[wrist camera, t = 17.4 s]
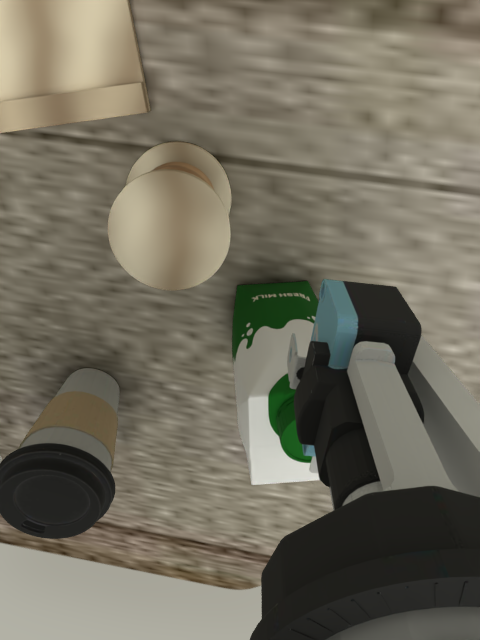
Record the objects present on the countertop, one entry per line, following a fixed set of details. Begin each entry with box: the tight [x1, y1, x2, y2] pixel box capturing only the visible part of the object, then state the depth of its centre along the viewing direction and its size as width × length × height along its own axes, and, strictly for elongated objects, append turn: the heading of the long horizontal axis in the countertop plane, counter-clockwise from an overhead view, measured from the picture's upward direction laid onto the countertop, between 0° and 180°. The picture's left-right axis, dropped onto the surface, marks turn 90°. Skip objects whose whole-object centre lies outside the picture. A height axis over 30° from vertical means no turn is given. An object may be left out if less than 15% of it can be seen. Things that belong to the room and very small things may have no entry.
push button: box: [250, 279, 480, 640], centre depth 10 cm, size 7×5×10 cm
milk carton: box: [232, 281, 320, 485], centre depth 37 cm, size 9×9×20 cm
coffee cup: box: [0, 368, 120, 539], centre depth 42 cm, size 9×9×15 cm
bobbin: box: [108, 141, 232, 290], centre depth 34 cm, size 9×9×11 cm
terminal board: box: [0, 0, 151, 133], centre depth 31 cm, size 14×14×3 cm
